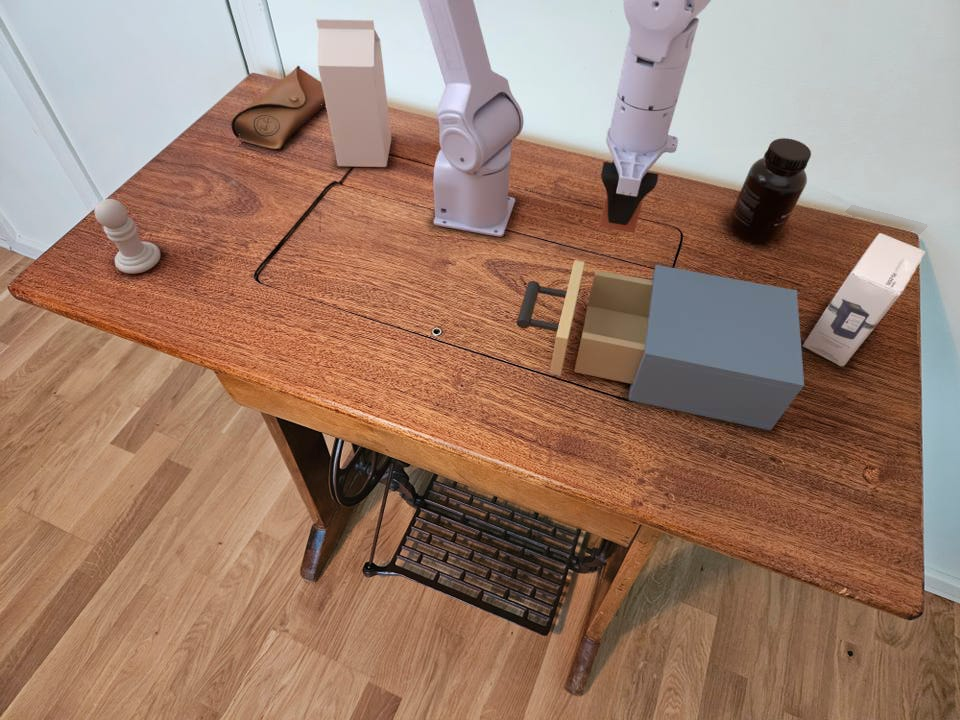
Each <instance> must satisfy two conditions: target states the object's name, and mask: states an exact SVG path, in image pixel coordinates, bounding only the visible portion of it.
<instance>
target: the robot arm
mask: <svg viewBox="0 0 960 720" xmlns="http://www.w3.org/2000/svg"><path fill="white" fill-rule="evenodd" d="M711 1H712V0H623V11H624V15H625V19H626V21H627V23H628V25H629V33H628V34H629V35H628V39H627V42H626V47H625V51H624V56H623V61H622V67H621V71H620V77H619V82H618V86H617V91H616V97H615V101H614V107H613V112H612V117H611V122H610V127H608V129H607V131H606V136H605V143H606V145H607V148H608V151H609V153H610V156H611V158H612V162H610V161H609V162H608V161H603V164H602V168H601V173H600V177H601V183H602V184H603V186H604V188H605V193H606V192H607V199H608V221H609V223H615V224H621V225H627V224H628V223H629V221H630V219H631V218H632V216H633V214H634V212H635V210H636V208H637V207H638V205H639V203H640V202H641V200H642V199H643V200H644V198H645V197H646V196H648V195H649V193H651V192H652V191H653V190H654V189H655V187H656V186H657V184H658V180H659V173H656V172H650V171H649V170H650V169H651V168H652V167H653V166H654V165H655V164H656V162H657V161H658V160H659V159H660V157H662V155H663V154H665V153H669V154H672V153H673V154H674V153H675V152H676V151H677V148H678V144H679V139H678V137H677V136H675V135H670V134H669V132H670V129H671V125H672V121H673V118H674V114H675V112H676V111H675V110H676V107H677V103H678V100H679V97H680V93H681V90H682V86H683V83H684V79H685V76H686V73H687V68H688V65H689V61H690V58H691V55H692V48H693V43H694V40H695V36H696V32H697V29H698V26H699V22H700V19H699V18H698V17H697V16H698V15H699V14H700V13H702V12H703V10H705V9H706V8H707V6H708V5H709V4H710V3H711ZM418 2H419V5H420V8H421V11H422V15H423V18H424V21H425V24H426V28H427V30H428V34H429V36H430V41H431V43H432V47H433V50H434V53H435V57H436V60H437V63H438V66H439V70H440V72H441V75H442V80H443V82H444V89H443V92H442V95H441V98H440V101H439V102H438V105H437V108H436V111H435V115H436V120H437V123H438V127H439V136H438V141H439V147H440V150H439V151H438V154H437V155H436V158H435V161H434V162H435V163H434V167H433V183H432V187H433V201H434V204H433V205H434V219H433V224H434V226H437V227H444V228H449V229H453V230H460V231H465V232H471V233H476V234H481V235H486V236H493V237H499V238H500V237H503V236H504V234H505V232H506V229H507V227H508V223H509V220H510V217H511V215H512V212H513V210H514V206H515V203H516V198H515V197H512V196H509V189H510V175H511V174H510V173H511V155H512V150H513V144H514V143H513V142H514V140H515V139H516V138H518V136H519V135H520V134H521V133H522V131H523V128H524V114H523V111H522V108H521V106H520V104H519V103H518V101H517V100H516V98H515V96H514V95H513V93H512V91H511V87H510V84H509V80H508V79H507V78H506V77H504V76H503V75H500V74H499V73H497V72H495V71H493V70H492V66H491V63H490V59H489V55H488V51H487V47H486V43H485V39H484V36H483V32H482V29H481V25H480V20H479V16H478V12H477V9H476V4H475V1H474V0H418Z"/></svg>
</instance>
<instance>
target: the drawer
mask: <svg viewBox="0 0 960 720" xmlns="http://www.w3.org/2000/svg"><path fill="white" fill-rule="evenodd" d="M585 264H586V261H581V260H577V259H574V260H573V263H572V268H571V272H570V277H569V281H568V285H567V289H566V290H563V289H558V288H554V287H548V286H543V285H540V283H539V282H538V281H536V280H530V281H528V282H527V284H526V285H527V286H526V289H525V292H524V295H523V299H522V303H521V305H520V309H519V313H518V316H517V319H516V326H517V327H518V328H520V329H523V330H524V329H528V328H529V327H532V328H538V329H543V330H546V331H547V330H548V331H552V332H556V336H555V340H554V347H553V351H552V352H553V353H552V358H551V363H550V369H549V374H550V375H554V376H559V377H561V376H562V373H563V367H564V363H565V358H566V354H567V348H568V346H569V340H570V336H571V330H572V327H573V322H574V318H575V312H576V309H577V304H578V299H579V294H580V290H581V289H580V288H581V284H582V279H583V274H584V270H585ZM652 286H653V280H651V279H647V278H642V277H638V276H633V275H626V274H622V273H616V272H611V271H604V270H599V269H595V271H594V275H593V280H592V284H591V289H590V294H589V299H588V302H587V307H586V312H585V316H584V321H583V327H582V331H581V336H580V340H579V345H578V351H577V356H576V361H575V365H574V373H579V374H583V375H586V376H592V377H597V378H602V379H607V380H611V381H615V382H621V383H624V384H625V383H626V384H629V385H630V384H633V382H634V380H635V377H636V374H637V371H638V369H639V366H640V363H641V360H642V358H643V355H644V351H645V343H646V335H647V327H648V319H649V310H650V302H651V294H652ZM539 294H542V295H547V296H552V297H557V298H563V299H564V302H563V305H562V310H561V313H560V314H561V315H560V317H559V323H555V322H550V321H544V320H540V319H535V318H532V317H533V314H534V310H535V306H536V304H537V299H538V295H539Z"/></svg>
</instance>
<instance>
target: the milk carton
mask: <svg viewBox="0 0 960 720" xmlns="http://www.w3.org/2000/svg"><path fill="white" fill-rule="evenodd" d="M315 20H316V21H315V22H316V25H317V67H318V73H319V78H320V82H321V83H322V88H323V93H324V98H325V103H326V106H325V109H326V113H327V118H328V123H329V128H330V133H331V138H332V142H333V144H332V145H333V149H334V153H335V158H336V163H337V166H338V167H354V168H355V167H357V168H358V167H360V168H361V167H363V168H365V167H366V168H386V167H387V165H388V159H389V154H390V149H391V142H392V133H391V131H392V130H391V123H390V115H389V105H388V97H387V96H388V95H387V89H386V87H387V86H386V80H385V78H386V77H385V72H384V62H383V53H382V45H381V44H382V43H381V38H380V36H379V35H378V32H377V31H376V29H375V23H374V19H338V18H336V19H335V18H316V19H315Z"/></svg>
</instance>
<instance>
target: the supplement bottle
mask: <svg viewBox="0 0 960 720" xmlns="http://www.w3.org/2000/svg"><path fill="white" fill-rule="evenodd" d="M811 157H812V151H811V149H810V148H809V147H808V146H807V145H806V144H805V143H804V142H801V141H799V140H796V139H793V138H785V137H781V138H776V139H774V140H772V141H771V142H770V143H769V146H768V148H767V150H766V151H765V152H764V154H763V157H762V158H759V159H757V160H756V161H755V162H753V164H751V167H750V169H749V170H748V173H747V175H746V177H745V180H744V182H743V184H742V187H741V189H740V191H739V194H738V196H737V199H736V201H735V204H734V206H733V208H732V210H731V213H730V215H729V219H728V224H729V227H730V230H731V231H732V232H733V233H734V234H735V235H736V236H737V237H739V238H740V239H742V240H744V241H746V242H750V243H755V244H766V243H771V242H773V241H775V240H776V239H778V238H779V237H780V235H781V233H782V232H783V230H784V228H785V226H786V224H787V222H788V221H789V218H790V216H791V214H792V213H793V211H794V209H795V207H796V205H797V203H798V201H799V199H800V197H801V196H802V194H803V192H804V190H805V188H806V185H807V183H808V177H807V172H806V171H805V170H806V168H807V166H808V163H809V162H810V159H811Z"/></svg>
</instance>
